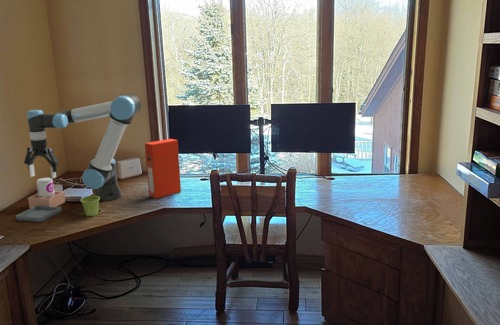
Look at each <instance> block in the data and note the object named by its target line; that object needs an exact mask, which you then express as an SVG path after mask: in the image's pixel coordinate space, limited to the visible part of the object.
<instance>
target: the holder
mask: <svg viewBox="0 0 500 325" xmlns="http://www.w3.org/2000/svg"><path fill="white" fill-rule="evenodd" d="M54 192H55V196H53V197H51V198H49V199H46V198H39V197H38V193H35V194H34V195H32V196H31V195H30V196H29V197H27V199H28V200H27V201H28V206H29V209H31V208H33V207H35V206H50V207H60V206H61V205H62V204H64V203H66V202H65V199H66V192H65V191H60V190H59V191H58V190H54Z"/></svg>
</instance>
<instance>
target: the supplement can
mask: <svg viewBox="0 0 500 325" xmlns="http://www.w3.org/2000/svg"><path fill="white" fill-rule="evenodd" d="M54 186H55V185H54V180H53V178H52V177H41V178H38V179H37V180H36V188H37V189H36V190H37V194H38V197H39V198H46V199H49V198H51V197H53V196H55V192H54V191H55V187H54Z"/></svg>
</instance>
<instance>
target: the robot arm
mask: <svg viewBox="0 0 500 325" xmlns="http://www.w3.org/2000/svg"><path fill="white" fill-rule="evenodd" d="M141 109H142V102H141V100H140V98H139V97H138V96H136V95H135V94H131V93H129V94H125V95H120V96H117V97H115V98H114V99H113V100H112V101H107V102H102V103H96V104H92V105H88V106H83V107H77V108H73V109H67V110H62V111H60V112H56V113H44V111H43V110H42V109H31V110H28V111H27V112H26V113H27V114H26V117H27V124H28V130H29V138H30V145H31V146H29V147H26V148H27V149H26V150H27V151H26V154H25V157H24V160H23V161H24V162H23V164H26V165H27V168H28V171H29V177H30V178H32V177H35V176H36V173H35V172H36V171H35V165H34V164H33V163H34V161H35V160H36V158H37V157H42V158H44V159H45V160H46V161H47V162H48V163H49V164H50V165H49V166H50V174H51V179H55V178H57V171H58V170H57V166H58V165H59V166H60V162H59V161H58V159H57V157H56V155H55V153H54V151H53V148H52V147H50V148H49V147H47V145H48V142H47V139H46V138H47V134H46V129H65V128H67V126H68V125H71V124H74V123H75V124H77V123H80V122H86V121H90V120H94V119H95V120H96V119H101V118H105V117H109V120H110V121H109V123H108V126H107V128H106V131H105V133H104V136H103V138H102V140H101V143H100V145H99V148H98V150H97V151H96V154H95V158H93V159H91V160H90V161H89V165H88V167H87V169H86V170H84V172H83V173H82V176H81V179H82V182H83V185H85V187H87V188H89V189H92V190H94V191H95V192H94V196H99V197H100V199H99V202H103V201H104V202H106V201H114V200H117V199H119V198H121V197H122V196H123V194H122V193H123V192H122V190H121V188H120V186H119V183H118V174H117V164H116V160H115V158H114V157H115V154H116V152H117V150H118V147H119V145H120V143H121V141H122V137H123V135H124V132H125V130H126V128H127V127H128V126H131V124H132V121H133V119H134V117H135V116H136V115H137V114H139V112H140V111H141Z"/></svg>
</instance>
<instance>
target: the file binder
mask: <svg viewBox="0 0 500 325" xmlns="http://www.w3.org/2000/svg"><path fill="white" fill-rule="evenodd" d="M144 148H145V150H144V151H145V152H144V154H145V164H146V175H147V187H148V196H149V197H150V198H152V199H154V200H155V199H156V200H157V199H160V197H161V198H163V197H167V195H168V196H170V195H174V194H177V193H181V192H182V189H181V188H182V186H181V175H180V174H181V173H180V171H181V170H180V160H179V159H180V156H179V140H178V139H173V138H167V139H162V140H161V139H160V140H156V141H150V142H144Z"/></svg>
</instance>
